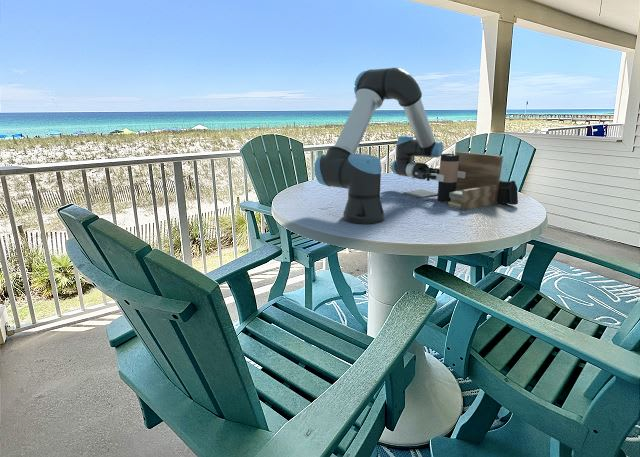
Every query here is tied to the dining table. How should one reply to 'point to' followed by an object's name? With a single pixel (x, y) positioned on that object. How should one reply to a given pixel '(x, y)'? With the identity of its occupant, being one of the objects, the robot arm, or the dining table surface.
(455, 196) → the offcut stack
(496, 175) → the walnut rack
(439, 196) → the travel mug
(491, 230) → the dining table surface
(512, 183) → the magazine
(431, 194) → the grey mat
